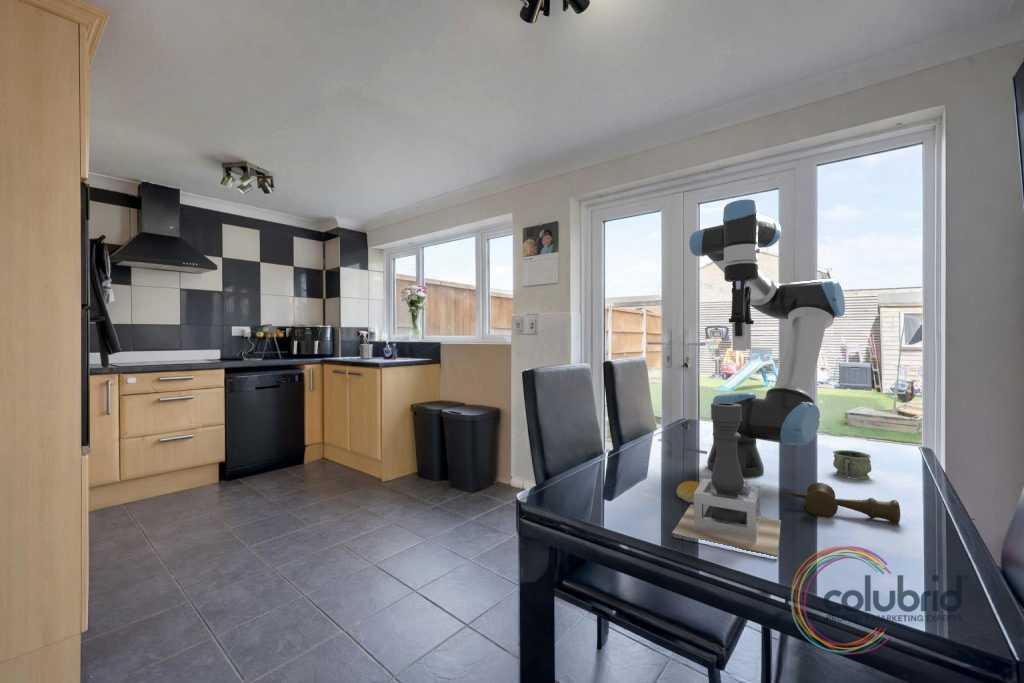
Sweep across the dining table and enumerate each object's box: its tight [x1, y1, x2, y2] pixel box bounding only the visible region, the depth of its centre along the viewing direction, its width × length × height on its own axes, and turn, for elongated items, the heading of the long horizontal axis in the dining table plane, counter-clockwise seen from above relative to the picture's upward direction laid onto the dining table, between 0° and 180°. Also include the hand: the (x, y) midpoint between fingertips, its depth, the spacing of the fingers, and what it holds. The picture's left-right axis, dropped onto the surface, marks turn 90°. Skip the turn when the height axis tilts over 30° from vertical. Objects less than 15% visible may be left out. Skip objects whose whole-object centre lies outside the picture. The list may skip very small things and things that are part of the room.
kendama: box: [787, 482, 901, 526], centre depth 99 cm, size 6×10×20 cm
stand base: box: [671, 504, 782, 557], centre depth 91 cm, size 18×18×1 cm
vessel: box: [832, 449, 872, 480], centre depth 127 cm, size 12×9×6 cm
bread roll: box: [676, 480, 715, 504], centre depth 111 cm, size 8×9×4 cm
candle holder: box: [710, 402, 745, 524], centre depth 91 cm, size 6×6×25 cm
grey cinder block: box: [693, 478, 762, 543], centre depth 91 cm, size 11×11×8 cm
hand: (742, 350), depth 110 cm, fingers open, 13 cm apart
